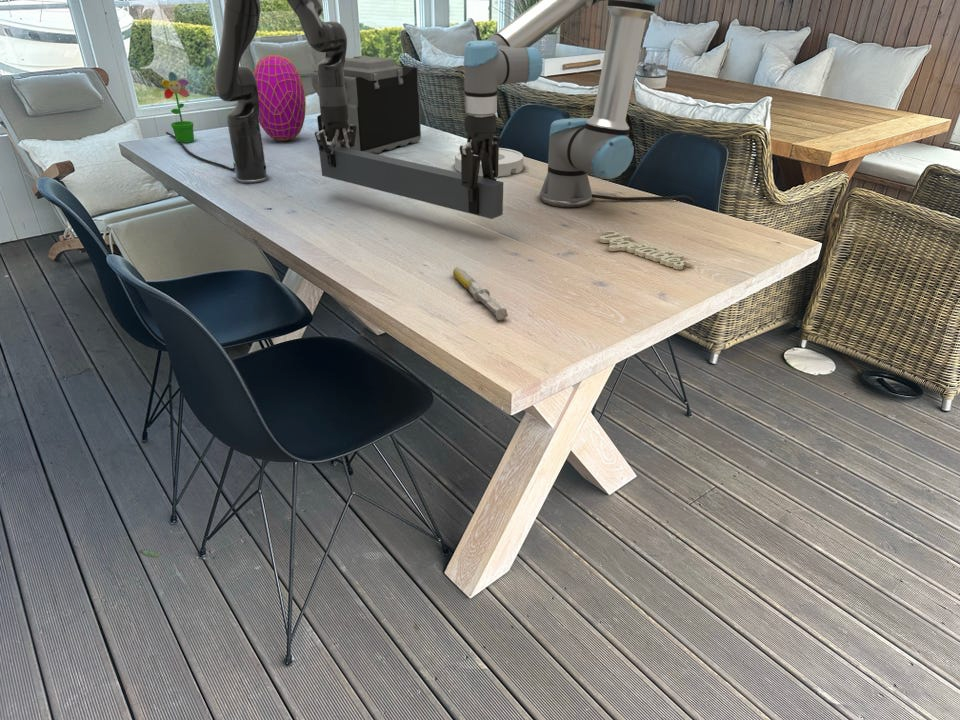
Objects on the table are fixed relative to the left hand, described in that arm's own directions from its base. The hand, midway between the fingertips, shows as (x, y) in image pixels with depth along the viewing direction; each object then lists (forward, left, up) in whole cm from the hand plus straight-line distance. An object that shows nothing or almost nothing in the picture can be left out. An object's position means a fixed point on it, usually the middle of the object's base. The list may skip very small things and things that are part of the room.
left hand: (339, 164), depth 197 cm
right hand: (+50, +11, -3) cm, 51 cm away
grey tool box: (-49, +42, -10) cm, 66 cm away
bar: (+25, +5, -4) cm, 26 cm away
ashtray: (+1, +57, -10) cm, 58 cm away
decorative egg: (-78, +21, -10) cm, 82 cm away
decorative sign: (+83, +34, -10) cm, 90 cm away
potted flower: (-99, -9, -10) cm, 100 cm away
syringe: (+77, -13, -10) cm, 78 cm away
